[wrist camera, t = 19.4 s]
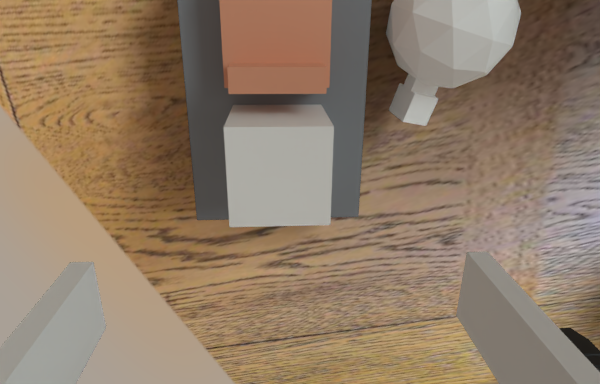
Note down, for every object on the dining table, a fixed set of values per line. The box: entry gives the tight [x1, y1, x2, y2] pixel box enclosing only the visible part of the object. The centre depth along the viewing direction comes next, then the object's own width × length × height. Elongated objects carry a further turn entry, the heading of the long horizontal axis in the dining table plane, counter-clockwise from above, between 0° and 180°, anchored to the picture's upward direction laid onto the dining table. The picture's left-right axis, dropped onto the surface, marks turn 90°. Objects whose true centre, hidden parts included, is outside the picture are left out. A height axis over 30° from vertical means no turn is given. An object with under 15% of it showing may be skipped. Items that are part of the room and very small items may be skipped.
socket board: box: [177, 0, 372, 220], centre depth 34 cm, size 18×13×5 cm
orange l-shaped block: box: [219, 0, 332, 94], centre depth 27 cm, size 7×7×4 cm
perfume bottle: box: [386, 0, 521, 126], centre depth 32 cm, size 9×9×12 cm
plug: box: [224, 104, 334, 227], centre depth 31 cm, size 6×6×11 cm
